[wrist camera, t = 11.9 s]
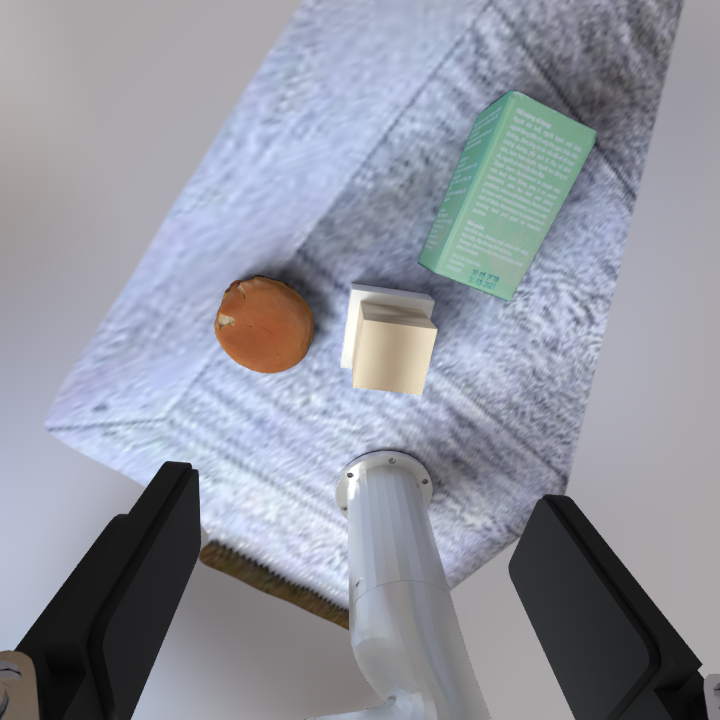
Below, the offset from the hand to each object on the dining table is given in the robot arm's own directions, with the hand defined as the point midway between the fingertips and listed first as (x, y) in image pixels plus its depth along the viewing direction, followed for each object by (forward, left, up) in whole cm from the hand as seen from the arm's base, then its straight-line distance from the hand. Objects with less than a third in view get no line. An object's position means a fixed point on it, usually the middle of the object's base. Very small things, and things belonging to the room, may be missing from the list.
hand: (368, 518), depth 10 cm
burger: (-4, +8, -29) cm, 30 cm away
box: (+10, -11, -29) cm, 32 cm away
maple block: (-3, -4, -25) cm, 26 cm away
